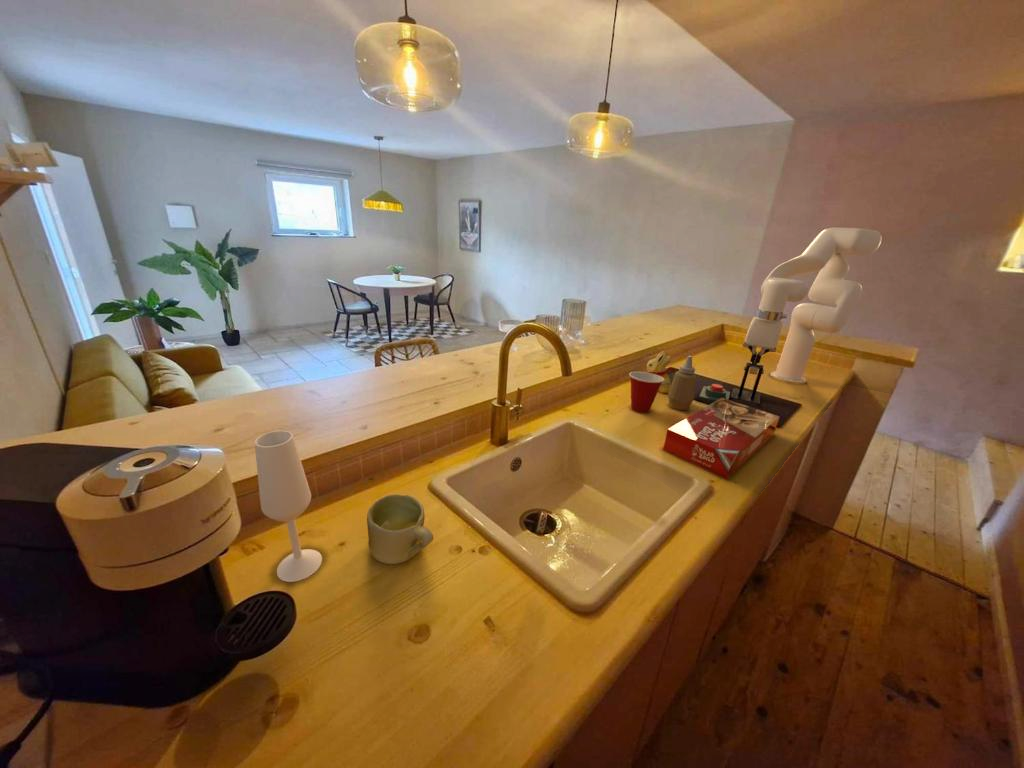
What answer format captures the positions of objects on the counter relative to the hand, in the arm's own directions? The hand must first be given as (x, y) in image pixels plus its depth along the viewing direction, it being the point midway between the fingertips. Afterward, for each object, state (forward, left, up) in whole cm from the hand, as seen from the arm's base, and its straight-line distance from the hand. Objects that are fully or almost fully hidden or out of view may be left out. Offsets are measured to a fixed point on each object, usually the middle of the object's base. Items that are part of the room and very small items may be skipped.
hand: (753, 364), depth 145 cm
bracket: (+9, -3, -11) cm, 14 cm away
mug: (+106, -89, -11) cm, 139 cm away
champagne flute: (+113, -104, -11) cm, 154 cm away
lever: (+5, -2, -1) cm, 5 cm away
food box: (+47, -21, -11) cm, 53 cm away
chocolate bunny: (+11, -35, -11) cm, 38 cm away
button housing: (+14, -15, -11) cm, 23 cm away
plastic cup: (+31, -42, -11) cm, 53 cm away
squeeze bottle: (+25, -29, -11) cm, 40 cm away
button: (+14, -15, -7) cm, 22 cm away
